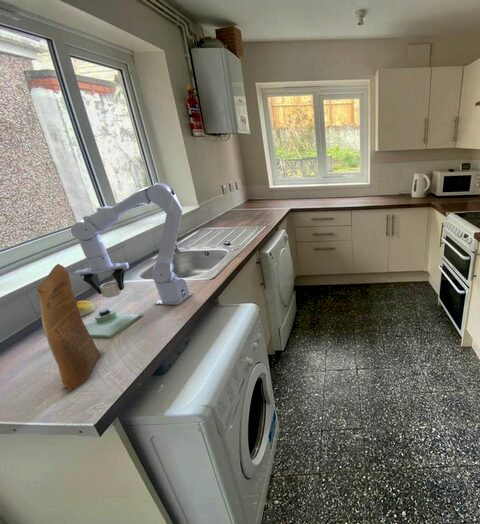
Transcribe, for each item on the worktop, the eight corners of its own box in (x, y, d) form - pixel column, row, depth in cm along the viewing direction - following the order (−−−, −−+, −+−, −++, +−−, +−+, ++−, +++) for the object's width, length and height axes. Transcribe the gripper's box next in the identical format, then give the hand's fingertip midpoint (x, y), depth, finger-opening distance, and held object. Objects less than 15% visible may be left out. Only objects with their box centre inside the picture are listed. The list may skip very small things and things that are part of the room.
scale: (141, 316, 101) (139, 310, 100) (110, 337, 90) (107, 331, 89) (107, 314, 103) (104, 309, 102) (72, 336, 92) (69, 329, 91)
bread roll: (65, 322, 100) (60, 312, 98) (67, 312, 106) (62, 303, 105) (95, 313, 105) (91, 303, 103) (95, 304, 111) (91, 295, 110)
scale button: (111, 312, 100) (110, 308, 100) (105, 316, 98) (103, 312, 97) (105, 312, 101) (103, 308, 100) (98, 316, 98) (96, 312, 98)
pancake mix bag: (112, 344, 87) (73, 259, 76) (90, 389, 71) (37, 288, 60) (84, 351, 84) (40, 264, 73) (55, 399, 68) (-7, 296, 57)
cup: (127, 290, 105) (123, 280, 103) (113, 298, 100) (108, 288, 98) (113, 290, 106) (109, 280, 104) (99, 298, 100) (94, 287, 99)
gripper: (64, 263, 91) (81, 300, 96) (118, 255, 96) (132, 291, 101) (74, 256, 97) (90, 291, 102) (125, 249, 102) (137, 283, 107)
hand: (111, 290), depth 102 cm, fingers closed on cup, 6 cm apart
